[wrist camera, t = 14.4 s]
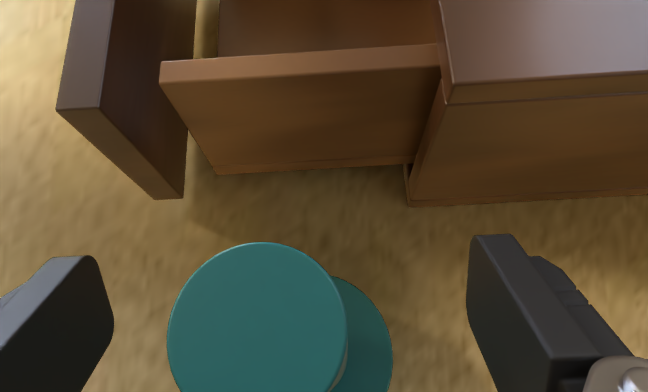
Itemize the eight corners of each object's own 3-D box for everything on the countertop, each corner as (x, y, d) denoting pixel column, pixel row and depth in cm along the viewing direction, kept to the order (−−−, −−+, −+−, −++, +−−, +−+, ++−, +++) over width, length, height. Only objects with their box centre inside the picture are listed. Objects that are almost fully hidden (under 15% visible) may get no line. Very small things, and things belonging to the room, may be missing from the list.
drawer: (124, 202, 19) (9, 113, 12) (152, -35, 23) (77, -191, 17) (521, 179, 18) (614, 75, 12) (471, -58, 23) (519, -226, 16)
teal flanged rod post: (243, 440, 16) (24, 581, 5) (245, 291, 18) (87, 161, 7) (392, 434, 16) (491, 564, 5) (379, 284, 18) (430, 140, 7)
